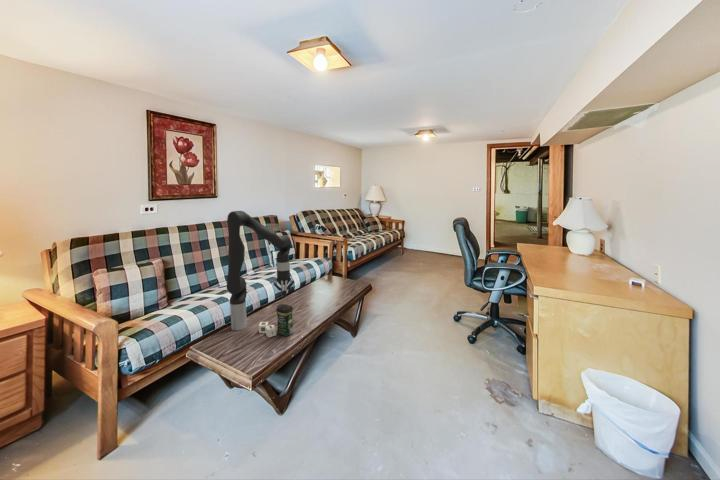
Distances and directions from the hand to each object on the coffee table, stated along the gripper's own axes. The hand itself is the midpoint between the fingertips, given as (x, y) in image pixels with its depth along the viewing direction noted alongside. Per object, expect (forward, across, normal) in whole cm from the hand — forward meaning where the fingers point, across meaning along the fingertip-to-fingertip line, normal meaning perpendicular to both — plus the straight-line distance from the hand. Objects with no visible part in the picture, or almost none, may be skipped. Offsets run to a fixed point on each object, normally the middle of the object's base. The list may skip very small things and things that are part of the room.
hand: (284, 296), depth 177 cm
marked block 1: (+24, -12, +8) cm, 28 cm away
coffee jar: (+24, 0, 0) cm, 24 cm away
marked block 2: (+24, -8, +2) cm, 26 cm away
